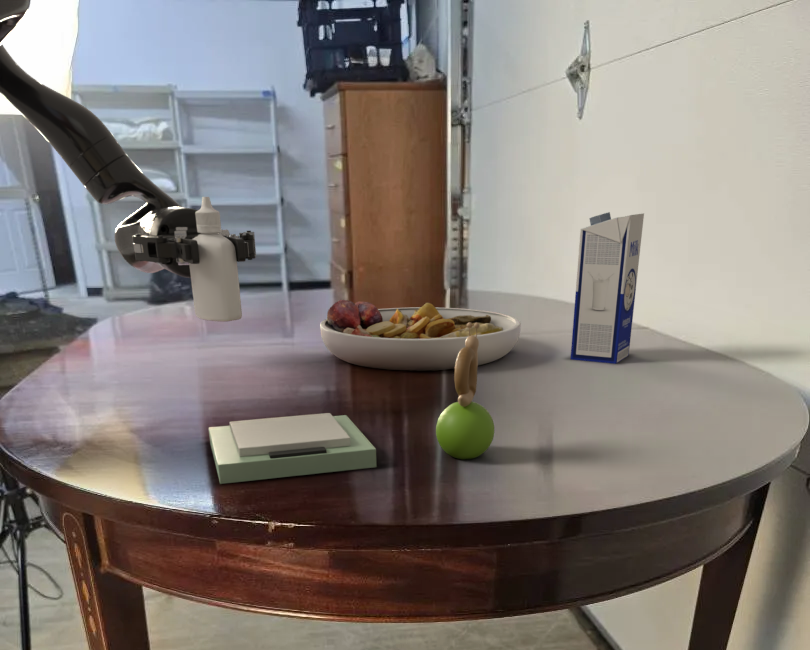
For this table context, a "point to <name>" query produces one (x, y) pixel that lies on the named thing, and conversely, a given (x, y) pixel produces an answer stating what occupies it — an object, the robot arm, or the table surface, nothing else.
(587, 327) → the milk carton
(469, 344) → the snail figurine
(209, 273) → the eye dropper bottle
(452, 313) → the bowl
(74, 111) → the robot arm
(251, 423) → the scale
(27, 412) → the table surface
